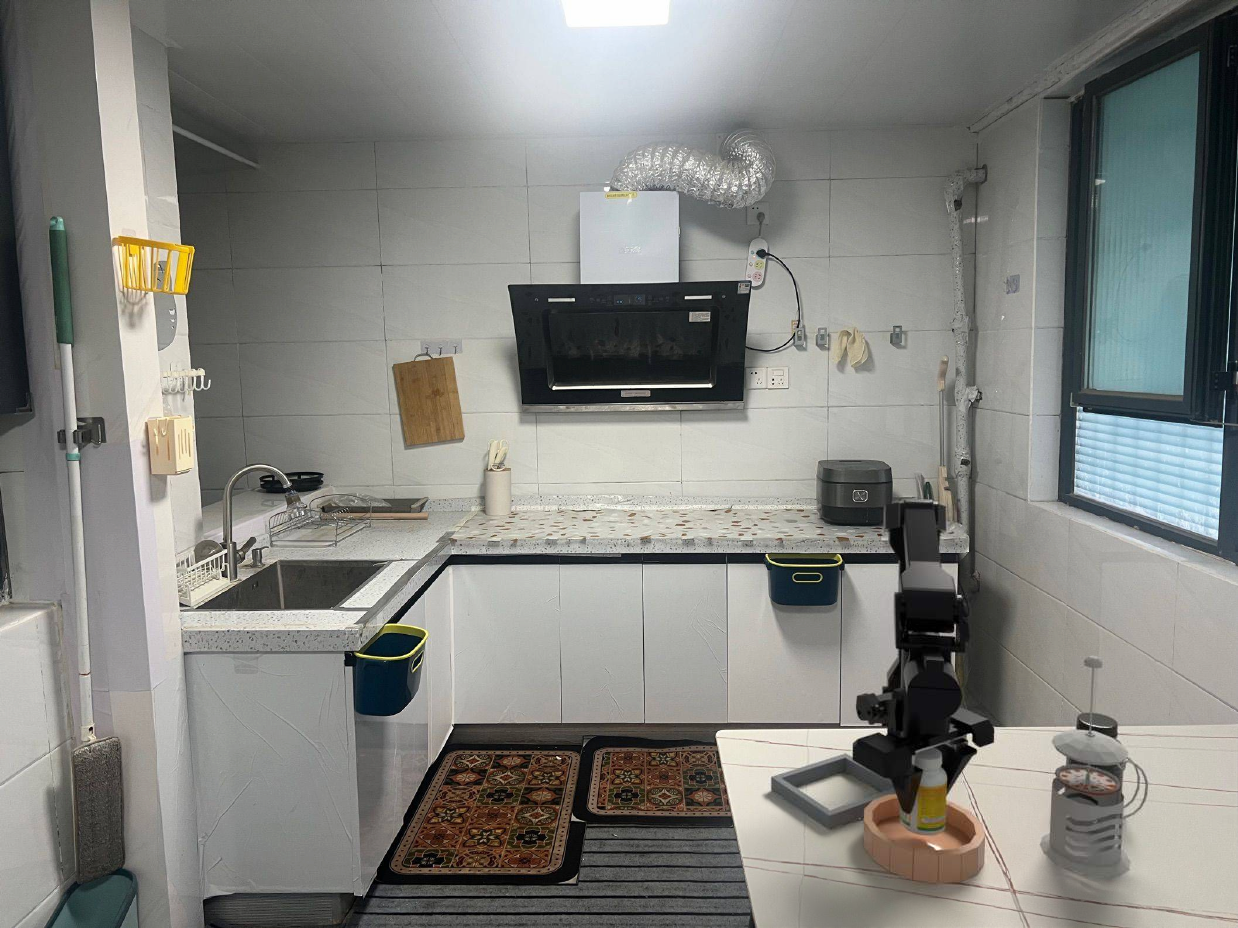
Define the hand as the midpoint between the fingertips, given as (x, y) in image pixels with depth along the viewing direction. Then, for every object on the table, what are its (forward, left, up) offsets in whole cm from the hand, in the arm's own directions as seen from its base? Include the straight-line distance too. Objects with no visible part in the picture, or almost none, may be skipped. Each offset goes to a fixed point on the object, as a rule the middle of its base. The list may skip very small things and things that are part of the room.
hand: (923, 805), depth 105 cm
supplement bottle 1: (0, 0, -3) cm, 3 cm away
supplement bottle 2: (-28, +4, -6) cm, 29 cm away
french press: (-17, +11, -6) cm, 21 cm away
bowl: (0, 0, -6) cm, 6 cm away
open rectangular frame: (0, -15, -6) cm, 16 cm away
